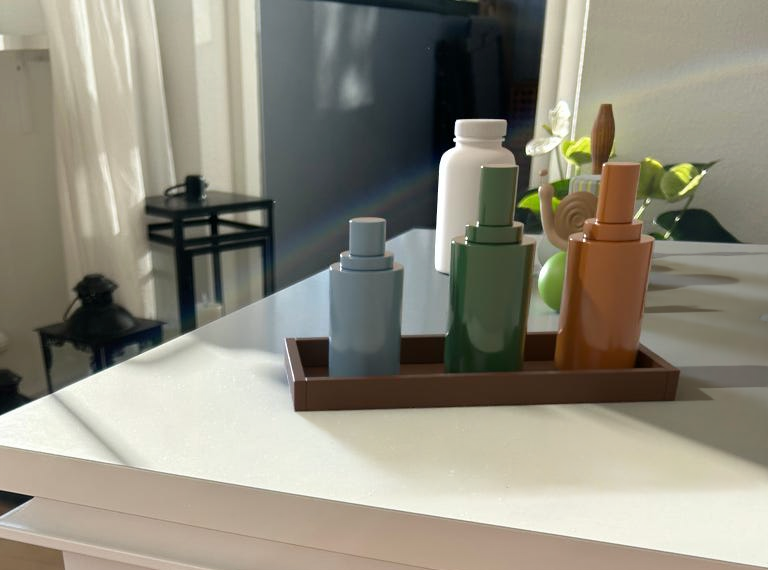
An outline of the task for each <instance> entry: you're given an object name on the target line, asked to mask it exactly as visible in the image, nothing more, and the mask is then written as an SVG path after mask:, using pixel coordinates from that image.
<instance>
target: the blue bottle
mask: <svg viewBox="0 0 768 570" xmlns="http://www.w3.org/2000/svg"><path fill="white" fill-rule="evenodd" d="M348 233H349V236H348V237H349V238H348V240H349V242H348V248H349V249H348V250H345V251H342V252H341V253H340V254H339V261H338V262H334V263H332V264H330V265H329V277H328V278H329V280H328V281H329V283H328V288H329V289H328V291H329V293H328V298H329V299H328V337H329V377H340V376H377V375H399V374H400V351H401V335H402V329H403V328H402V326H403V325H402V324H403V305H404V304H403V303H404V278H405V266H404V265H403V264H402V263H400V262H395V254H394V253H395V252H392V251H390V250H386V240H387V235H386V234H387V220H386V219H385V218H381V217H371V216H370V217H354V218H351V219H349V232H348Z"/></svg>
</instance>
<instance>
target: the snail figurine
mask: <svg viewBox="0 0 768 570" xmlns="http://www.w3.org/2000/svg"><path fill="white" fill-rule="evenodd" d="M548 173H549V172H548V170H547V168H544V169H540V171H539V176H540V181H542V182H540V186H539V187H538V195H537V196H538V199H539V210H540V221H541V225H542V231H543V233H544V234H545V236H546V238H547V240H548V241H549V242H550V243H551V244H552V245H553V246H555V247H556V248H558V249H560V250H561V251H562V252H560V253H557V254H556V255H554V256H552V257H551V258H550V259H549V260H548V261H547V262H546V263H545V265H544V266H543V267H542V268H541V269H540V272H539V275H538V281H537V287H538V293H539V295H540V298H541V300H542V302H543V303H544V304H545V305H546V306H547V307H548V308H550V309H551V310H553V311H556V312H557V313H558V312H559V313H560V306H561V298H562V290H563V281H564V273H565V264H566V256H567V247H568V239H569V236H570V235H572V234H575V233H580V232H583V229H584V221H585V220H587V219H591V218H596V212H597V204H598V197H596V196H595V195H594V194H592V193H590V192H586V191H577V192H573V193H571V194H569V195H568V194H567V195H566V196H565V197H564V198H562V200H560V202H559V203H558V205H557V206H556V208H555V211H554V205H553V198H554V195H555V189H554V186H553V185H552V184H551V183H548V182H547V183H544V182H545V177H546V176H547V175H548Z"/></svg>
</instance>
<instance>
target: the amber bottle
mask: <svg viewBox="0 0 768 570" xmlns="http://www.w3.org/2000/svg"><path fill="white" fill-rule="evenodd" d="M641 168H642V164H641V163H640V162H633V161H608V162H606V163H603V165H602V173H601V181H600V189H599V196H598V204H597V212H596V218H591V219H587V220H585V221H584V229H583V232H580V233H575V234H572V235H570V236H569V239H568V247H567V256H566V264H565V273H564V281H563V290H562V298H561V306H560V312H559V315H558V324H557V331H558V332H557V340H556V349H555V357H554V366H553V371H562V370H599V369H635V365H636V359H637V352H638V346H639V342H640V339H641V332H642V326H643V320H644V314H645V308H646V307H645V306H646V300H647V294H648V289H649V288H648V287H649V282H650V276H651V270H652V264H653V256H654V250H655V244H656V238H655V237H654V236H652V235H649V234H644V233H643V229H644V221H643V220H641V219H636V218H634V216H635V210H636V201H637V195H638V188H639V182H640V175H641Z"/></svg>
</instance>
